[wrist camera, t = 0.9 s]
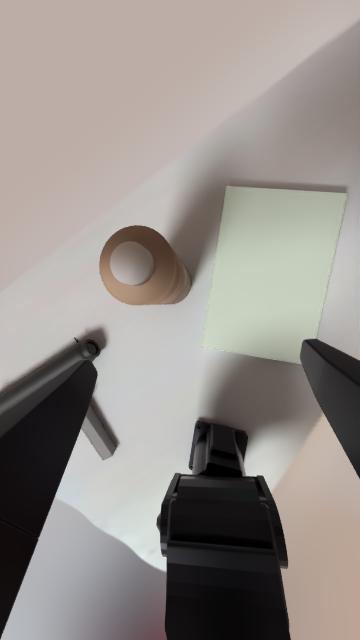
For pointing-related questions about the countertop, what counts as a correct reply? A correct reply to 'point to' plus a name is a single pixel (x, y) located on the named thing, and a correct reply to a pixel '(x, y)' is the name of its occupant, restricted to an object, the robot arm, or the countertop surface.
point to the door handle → (47, 373)
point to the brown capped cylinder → (143, 268)
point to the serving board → (271, 270)
